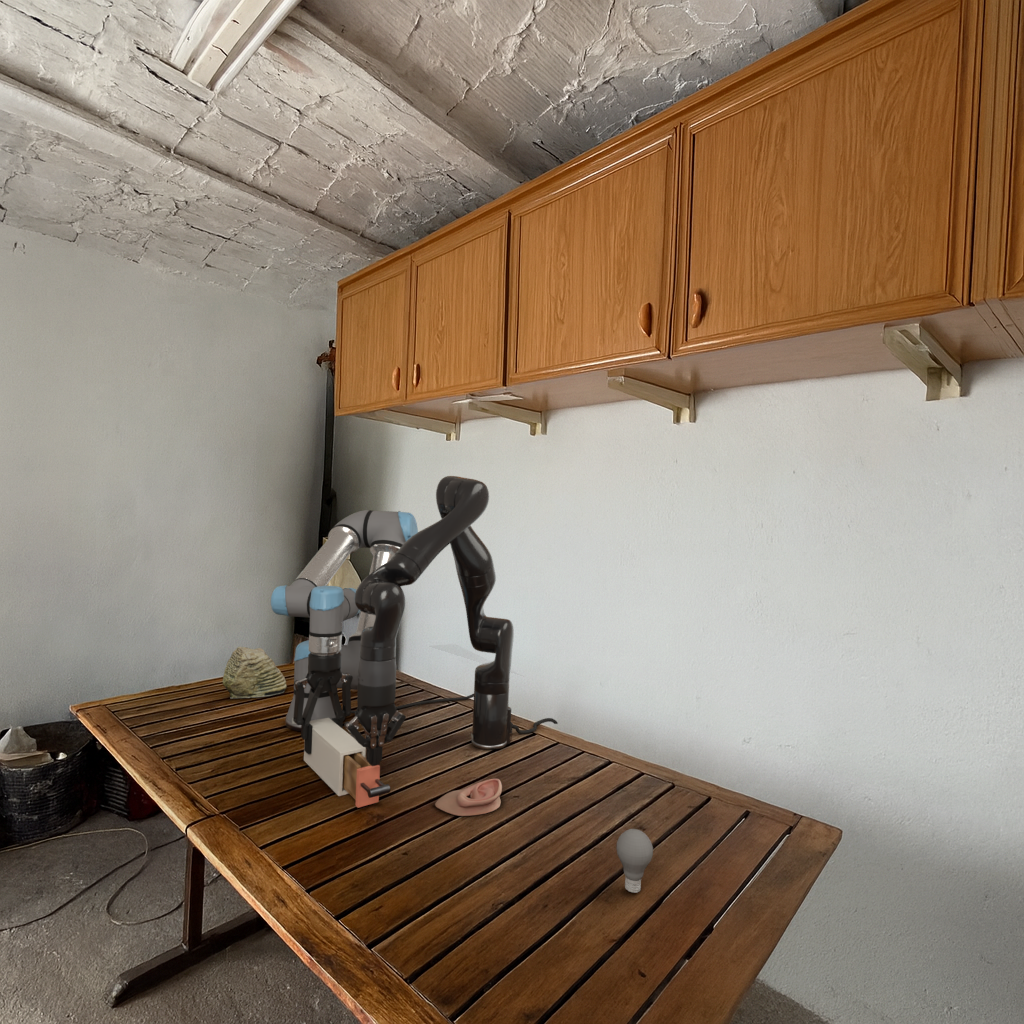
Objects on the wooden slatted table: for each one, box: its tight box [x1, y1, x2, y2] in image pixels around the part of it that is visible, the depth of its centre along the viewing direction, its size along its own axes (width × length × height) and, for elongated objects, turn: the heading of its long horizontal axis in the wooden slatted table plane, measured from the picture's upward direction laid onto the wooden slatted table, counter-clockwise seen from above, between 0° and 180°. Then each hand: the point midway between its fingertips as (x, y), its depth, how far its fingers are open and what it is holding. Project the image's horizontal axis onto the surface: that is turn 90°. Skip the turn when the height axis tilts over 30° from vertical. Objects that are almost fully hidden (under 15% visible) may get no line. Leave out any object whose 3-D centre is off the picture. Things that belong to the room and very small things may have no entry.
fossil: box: [222, 646, 288, 699], centre depth 198 cm, size 9×18×15 cm, turn 132°
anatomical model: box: [434, 778, 503, 817], centre depth 133 cm, size 13×4×12 cm
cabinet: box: [303, 718, 367, 797], centre depth 145 cm, size 22×6×9 cm, turn 38°
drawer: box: [342, 752, 391, 809], centre depth 135 cm, size 26×5×8 cm, turn 38°
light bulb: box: [615, 828, 654, 894], centre depth 106 cm, size 6×6×10 cm
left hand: (321, 749), depth 150 cm, fingers closed on cabinet, 6 cm apart
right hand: (374, 764), depth 128 cm, fingers closed
